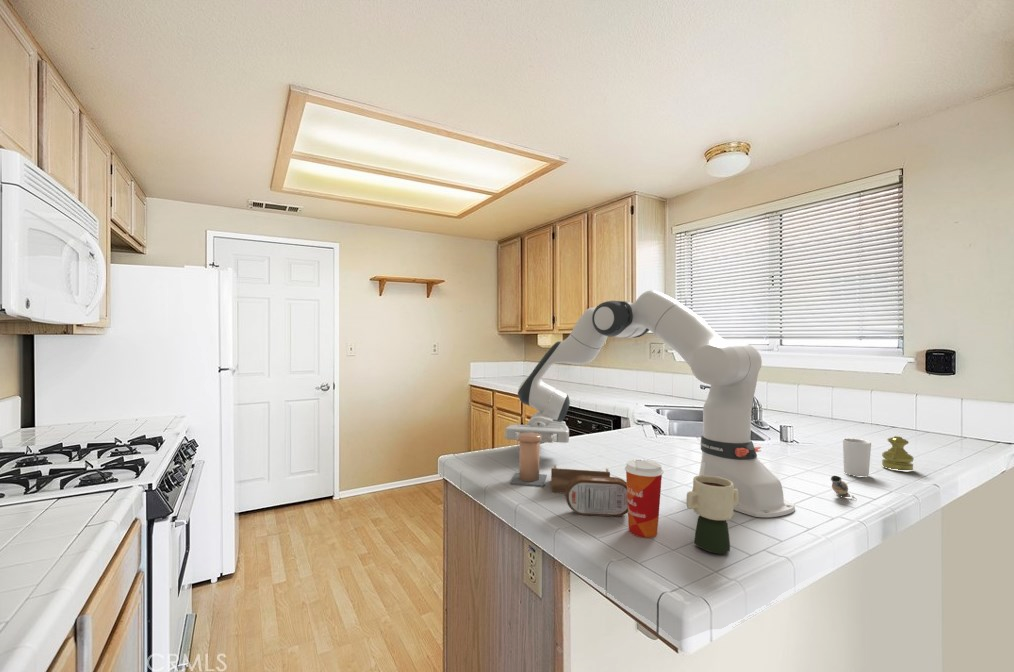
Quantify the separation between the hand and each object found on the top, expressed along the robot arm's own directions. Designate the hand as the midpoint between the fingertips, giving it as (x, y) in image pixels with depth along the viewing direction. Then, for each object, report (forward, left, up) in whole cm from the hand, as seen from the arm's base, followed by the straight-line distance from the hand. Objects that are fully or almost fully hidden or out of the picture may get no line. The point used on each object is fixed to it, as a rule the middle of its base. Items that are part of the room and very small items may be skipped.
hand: (534, 439), depth 137 cm
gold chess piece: (-45, -103, -9) cm, 112 cm away
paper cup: (-48, 0, -9) cm, 49 cm away
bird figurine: (-53, -59, -9) cm, 79 cm away
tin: (-37, +3, -9) cm, 38 cm away
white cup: (-43, -85, -9) cm, 95 cm away
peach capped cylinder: (-10, +7, -8) cm, 14 cm away
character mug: (-59, -7, -9) cm, 60 cm away
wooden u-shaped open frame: (-21, -3, -8) cm, 22 cm away
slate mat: (-10, +7, -8) cm, 15 cm away
